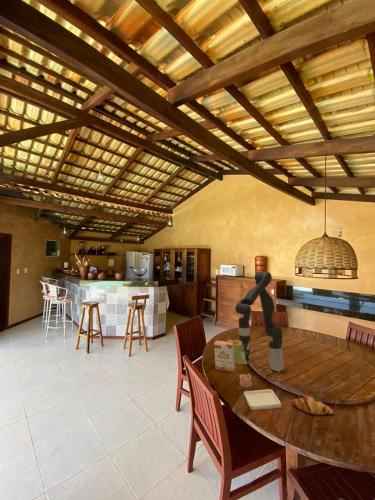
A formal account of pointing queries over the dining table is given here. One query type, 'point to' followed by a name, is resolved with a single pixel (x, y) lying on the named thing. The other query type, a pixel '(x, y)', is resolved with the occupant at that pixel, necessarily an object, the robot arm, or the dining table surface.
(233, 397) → the dining table surface
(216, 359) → the cracker box
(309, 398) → the croissant
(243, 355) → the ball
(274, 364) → the robot arm
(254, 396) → the tray
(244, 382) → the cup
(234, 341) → the protein box
